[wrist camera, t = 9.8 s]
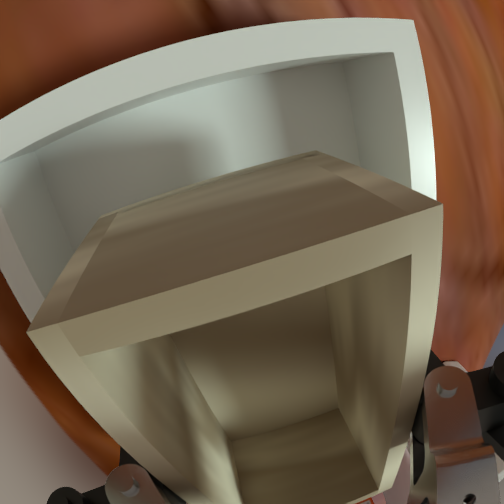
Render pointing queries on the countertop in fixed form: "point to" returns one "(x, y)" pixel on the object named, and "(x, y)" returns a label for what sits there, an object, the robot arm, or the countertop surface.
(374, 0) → the countertop surface
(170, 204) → the birch crate
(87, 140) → the white crate
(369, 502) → the orange cereal box
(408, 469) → the smoothie
